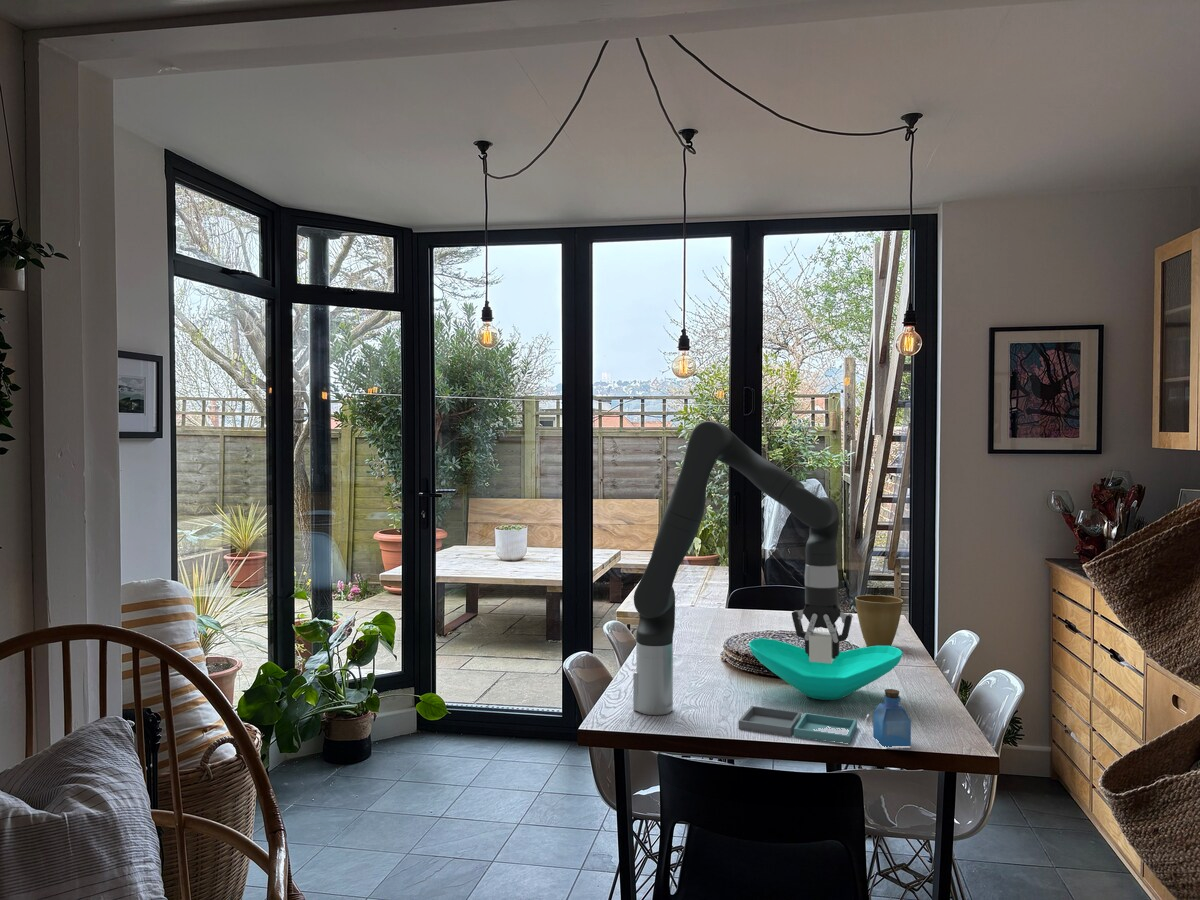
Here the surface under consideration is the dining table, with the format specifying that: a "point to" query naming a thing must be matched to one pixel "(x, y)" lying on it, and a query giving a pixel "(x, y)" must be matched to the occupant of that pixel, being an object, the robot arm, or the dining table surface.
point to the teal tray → (821, 721)
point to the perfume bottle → (891, 721)
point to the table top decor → (825, 667)
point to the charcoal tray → (769, 720)
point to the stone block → (820, 647)
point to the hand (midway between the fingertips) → (822, 656)
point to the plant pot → (878, 618)
